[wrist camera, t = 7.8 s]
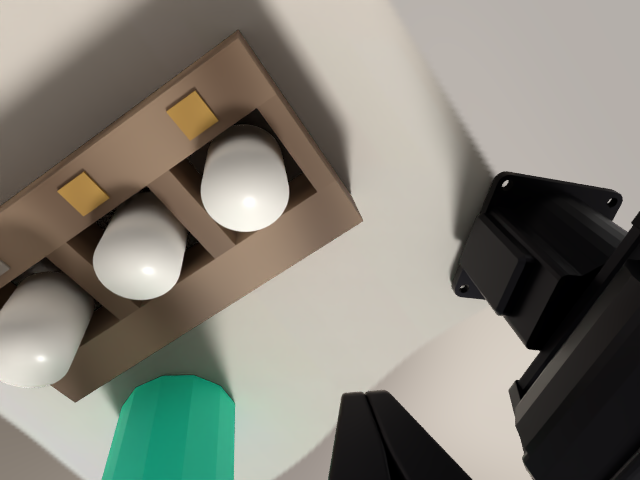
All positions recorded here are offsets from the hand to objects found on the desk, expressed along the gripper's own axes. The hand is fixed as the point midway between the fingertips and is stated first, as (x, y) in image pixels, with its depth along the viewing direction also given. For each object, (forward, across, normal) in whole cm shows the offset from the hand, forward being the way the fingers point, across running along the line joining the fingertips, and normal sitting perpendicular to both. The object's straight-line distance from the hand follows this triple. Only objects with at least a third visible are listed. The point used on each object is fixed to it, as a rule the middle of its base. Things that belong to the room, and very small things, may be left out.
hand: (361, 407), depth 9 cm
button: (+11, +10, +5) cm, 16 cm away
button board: (+13, +6, +2) cm, 15 cm away
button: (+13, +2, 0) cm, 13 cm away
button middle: (+13, +6, +2) cm, 14 cm away
